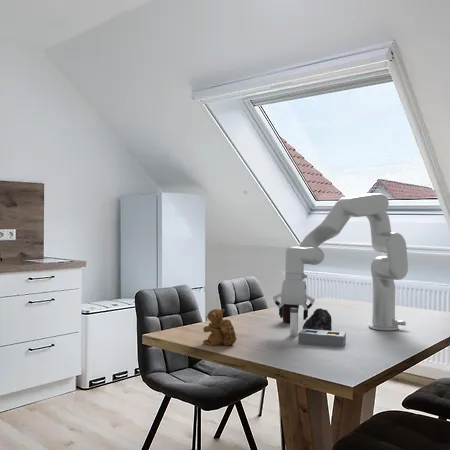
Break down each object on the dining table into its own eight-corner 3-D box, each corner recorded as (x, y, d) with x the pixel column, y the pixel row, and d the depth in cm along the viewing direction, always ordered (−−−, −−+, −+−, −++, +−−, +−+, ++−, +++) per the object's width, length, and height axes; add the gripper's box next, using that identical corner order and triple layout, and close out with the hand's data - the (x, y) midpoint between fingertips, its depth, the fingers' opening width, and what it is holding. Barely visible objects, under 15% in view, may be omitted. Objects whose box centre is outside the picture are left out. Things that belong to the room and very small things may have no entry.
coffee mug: (293, 324, 247) (293, 302, 247) (277, 322, 252) (277, 300, 252) (305, 320, 256) (306, 299, 256) (289, 318, 261) (290, 297, 261)
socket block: (345, 342, 213) (345, 331, 213) (343, 347, 205) (343, 336, 205) (302, 338, 219) (302, 328, 219) (298, 343, 211) (298, 332, 211)
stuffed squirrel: (215, 339, 218) (215, 306, 217) (243, 344, 209) (244, 310, 208) (198, 343, 210) (198, 309, 210) (227, 349, 201) (227, 313, 201)
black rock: (309, 336, 227) (312, 313, 226) (296, 327, 240) (299, 304, 239) (338, 337, 230) (341, 314, 229) (324, 328, 243) (326, 306, 242)
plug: (298, 334, 226) (299, 308, 226) (297, 336, 223) (297, 309, 223) (291, 334, 227) (291, 307, 227) (289, 335, 224) (289, 308, 224)
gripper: (316, 277, 225) (315, 318, 226) (275, 274, 231) (274, 315, 231) (313, 278, 218) (312, 321, 219) (271, 276, 224) (270, 318, 224)
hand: (293, 318), depth 225 cm, fingers open, 9 cm apart
